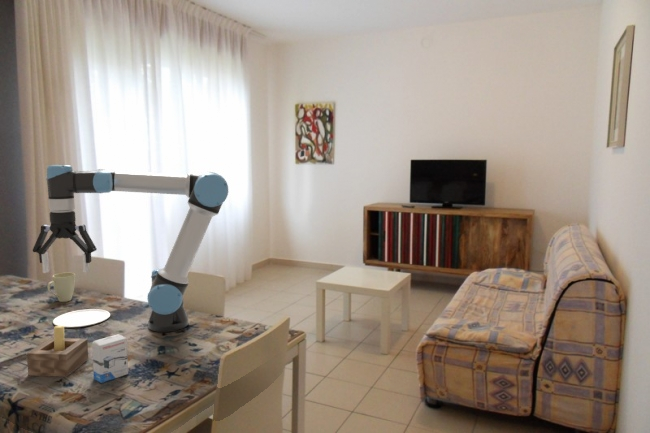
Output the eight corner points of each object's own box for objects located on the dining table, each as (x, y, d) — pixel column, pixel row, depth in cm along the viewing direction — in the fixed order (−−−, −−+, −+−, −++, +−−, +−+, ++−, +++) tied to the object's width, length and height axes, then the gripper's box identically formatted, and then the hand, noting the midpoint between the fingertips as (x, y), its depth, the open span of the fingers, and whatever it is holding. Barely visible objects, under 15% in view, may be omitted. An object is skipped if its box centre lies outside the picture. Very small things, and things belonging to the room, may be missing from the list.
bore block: (88, 359, 150) (87, 338, 149) (67, 376, 138) (66, 354, 137) (52, 358, 150) (51, 337, 149) (28, 375, 138) (26, 353, 137)
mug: (54, 298, 212) (53, 273, 210) (78, 296, 215) (76, 272, 213) (47, 305, 201) (46, 279, 200) (72, 303, 204) (71, 278, 203)
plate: (108, 326, 180) (108, 323, 180) (48, 332, 172) (48, 329, 172) (112, 309, 199) (111, 306, 199) (57, 314, 192) (57, 311, 191)
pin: (66, 361, 145) (66, 325, 144) (61, 365, 143) (61, 328, 141) (57, 361, 145) (57, 325, 144) (52, 365, 142) (52, 328, 141)
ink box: (100, 384, 134) (99, 346, 132) (92, 378, 137) (91, 341, 135) (128, 373, 140) (127, 337, 139) (120, 368, 143) (119, 333, 142)
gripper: (104, 209, 158) (108, 269, 160) (31, 209, 157) (35, 269, 159) (94, 212, 150) (98, 274, 153) (17, 212, 149) (22, 274, 152)
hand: (66, 272), depth 156 cm, fingers open, 13 cm apart
